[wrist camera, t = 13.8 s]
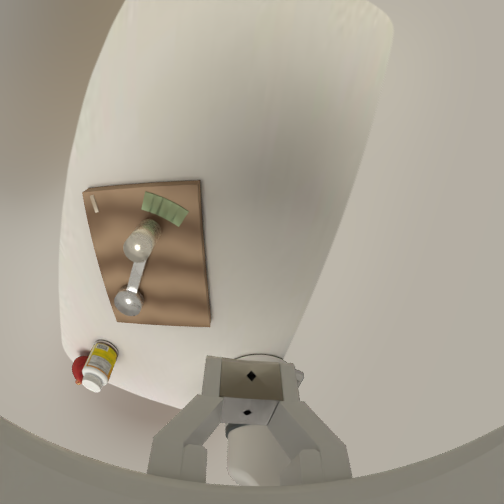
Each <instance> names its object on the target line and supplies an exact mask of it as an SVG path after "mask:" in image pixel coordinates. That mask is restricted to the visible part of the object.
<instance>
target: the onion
mask: <svg viewBox="0 0 504 504" xmlns="http://www.w3.org/2000/svg"><path fill="white" fill-rule="evenodd" d="M87 359H88V356H81V357H78V358H76V359H75V361H74V363H73V365H72V372H73V375H74V377H75V379H76V384H77V385H80V384H82V380H83V377H84V376H83V374H82V370H83V367H84V365H85V363H86V361H87Z"/></svg>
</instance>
